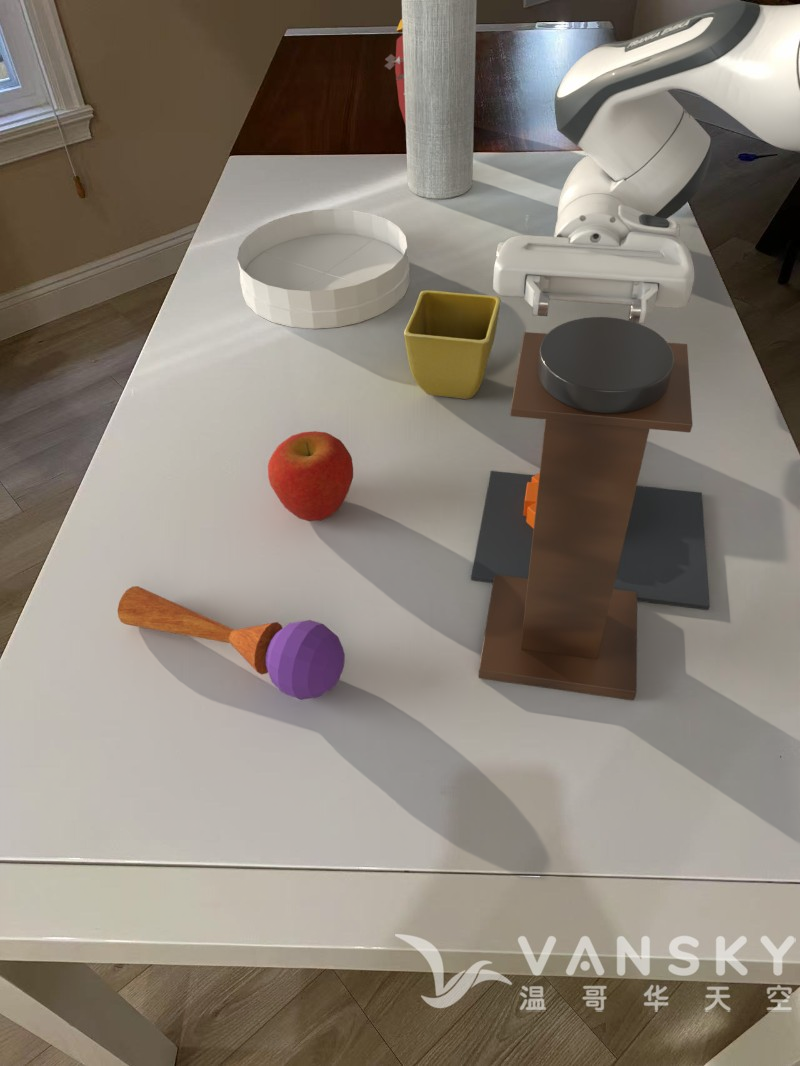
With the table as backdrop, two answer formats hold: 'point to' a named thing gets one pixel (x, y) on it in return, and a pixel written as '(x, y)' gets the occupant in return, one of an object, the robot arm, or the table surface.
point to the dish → (324, 268)
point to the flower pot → (451, 341)
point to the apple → (311, 474)
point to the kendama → (251, 642)
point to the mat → (648, 551)
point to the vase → (439, 95)
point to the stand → (583, 503)
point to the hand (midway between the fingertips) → (588, 313)
